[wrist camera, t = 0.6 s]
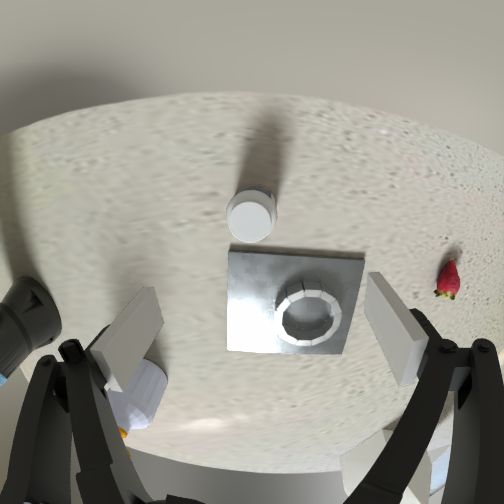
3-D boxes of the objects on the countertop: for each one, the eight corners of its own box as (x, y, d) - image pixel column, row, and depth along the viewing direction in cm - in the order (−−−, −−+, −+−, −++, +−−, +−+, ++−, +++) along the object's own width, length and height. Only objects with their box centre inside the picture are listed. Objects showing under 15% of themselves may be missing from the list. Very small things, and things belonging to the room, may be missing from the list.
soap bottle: (144, 350, 43) (83, 462, 20) (177, 383, 45) (137, 495, 22) (117, 363, 45) (60, 458, 22) (148, 393, 47) (106, 489, 24)
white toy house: (421, 434, 50) (443, 501, 27) (382, 461, 55) (396, 524, 32) (381, 428, 48) (403, 512, 25) (339, 456, 53) (348, 532, 30)
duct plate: (228, 346, 41) (225, 358, 38) (229, 249, 35) (225, 258, 32) (340, 351, 40) (344, 363, 37) (363, 258, 34) (370, 267, 32)
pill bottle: (225, 195, 33) (210, 208, 25) (264, 176, 32) (262, 183, 23) (245, 232, 34) (237, 257, 26) (282, 215, 33) (287, 235, 25)
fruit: (458, 262, 34) (475, 275, 29) (441, 294, 36) (456, 309, 31) (443, 253, 33) (460, 266, 29) (425, 287, 35) (440, 302, 31)
